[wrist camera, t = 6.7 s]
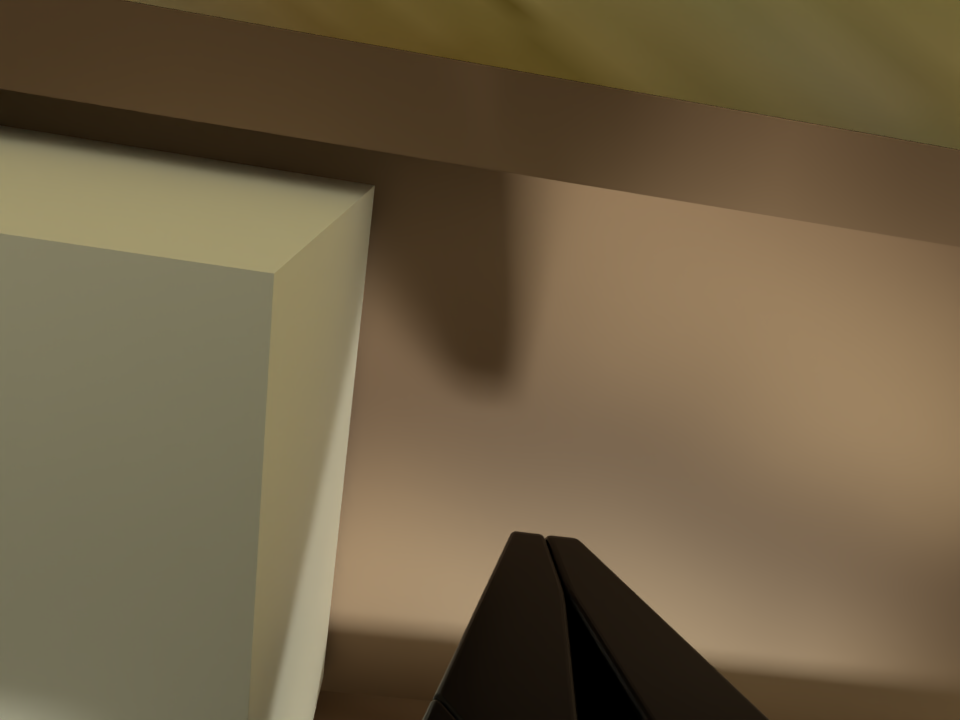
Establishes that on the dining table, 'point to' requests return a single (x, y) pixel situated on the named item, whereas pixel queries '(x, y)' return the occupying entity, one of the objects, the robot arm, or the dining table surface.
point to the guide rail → (593, 346)
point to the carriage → (170, 429)
